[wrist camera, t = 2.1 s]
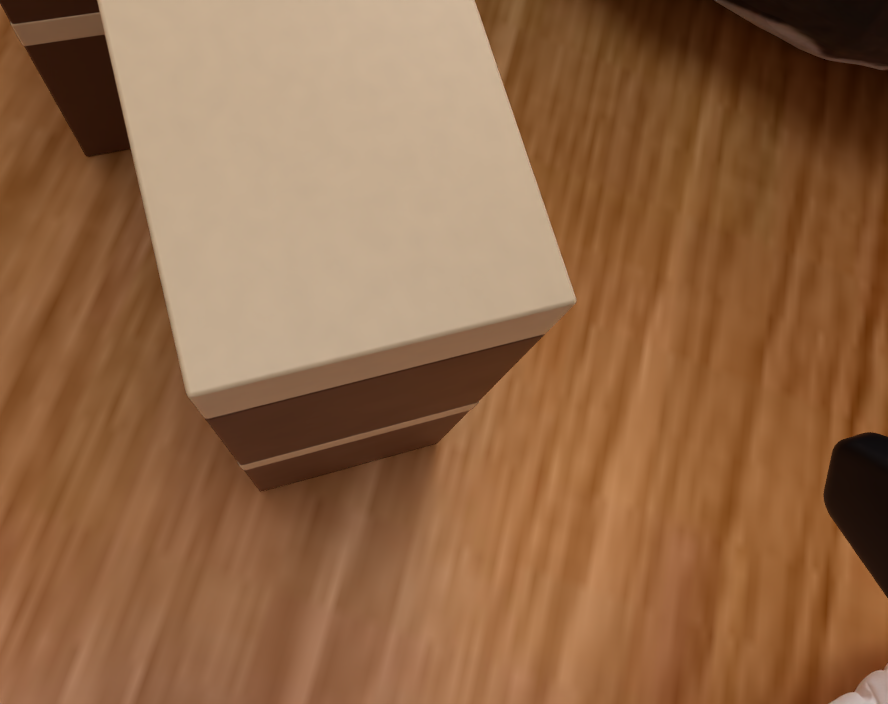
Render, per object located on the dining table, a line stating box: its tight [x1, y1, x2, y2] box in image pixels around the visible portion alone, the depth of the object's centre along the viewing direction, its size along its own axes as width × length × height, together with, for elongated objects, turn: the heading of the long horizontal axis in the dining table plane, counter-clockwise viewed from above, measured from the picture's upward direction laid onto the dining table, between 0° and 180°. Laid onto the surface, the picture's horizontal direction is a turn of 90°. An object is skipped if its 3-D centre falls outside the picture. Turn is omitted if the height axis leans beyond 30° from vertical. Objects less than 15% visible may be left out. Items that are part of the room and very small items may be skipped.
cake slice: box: [97, 0, 576, 491], centre depth 17 cm, size 9×5×12 cm, turn 16°
